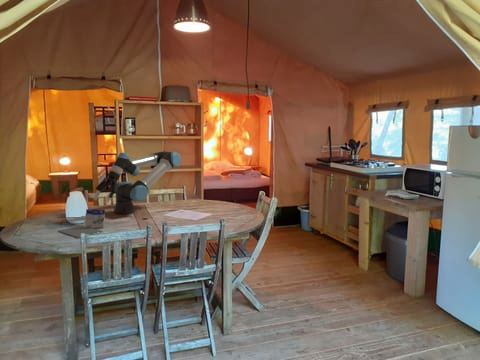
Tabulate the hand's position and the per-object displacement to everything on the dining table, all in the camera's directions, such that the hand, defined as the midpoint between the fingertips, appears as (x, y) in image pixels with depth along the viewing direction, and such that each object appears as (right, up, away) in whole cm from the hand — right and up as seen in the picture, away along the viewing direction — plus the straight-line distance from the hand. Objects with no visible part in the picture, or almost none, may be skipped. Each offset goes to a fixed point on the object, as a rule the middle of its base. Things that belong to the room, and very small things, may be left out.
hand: (100, 200), depth 248 cm
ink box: (0, -17, -10) cm, 20 cm away
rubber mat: (-6, -18, -18) cm, 26 cm away
